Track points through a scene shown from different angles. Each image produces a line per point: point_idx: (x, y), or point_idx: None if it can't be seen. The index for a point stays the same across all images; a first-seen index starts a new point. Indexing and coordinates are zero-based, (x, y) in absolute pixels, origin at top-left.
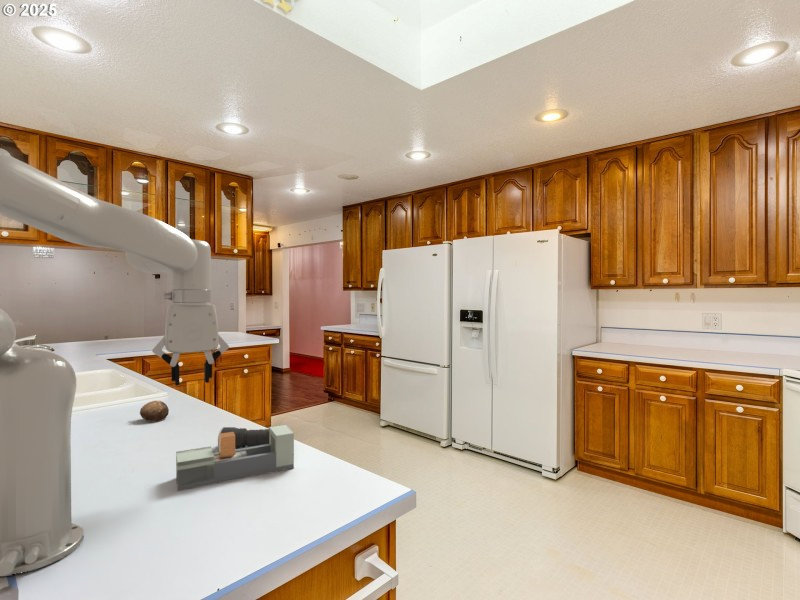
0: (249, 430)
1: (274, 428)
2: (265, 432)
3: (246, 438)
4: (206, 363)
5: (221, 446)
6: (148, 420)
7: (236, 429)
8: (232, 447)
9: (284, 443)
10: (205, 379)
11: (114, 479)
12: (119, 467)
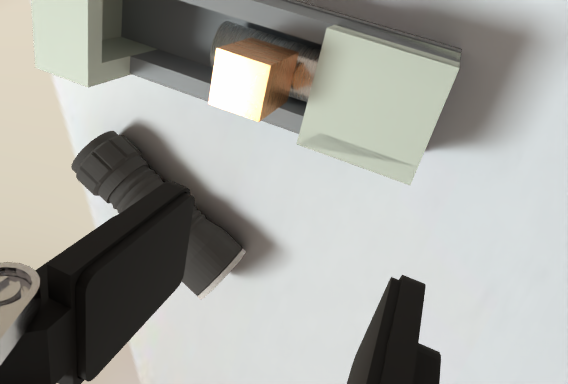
0: None
1: (76, 58)
2: (114, 178)
3: None
4: (63, 311)
5: (281, 58)
6: None
7: None
8: (248, 44)
9: None
10: (181, 205)
11: (555, 280)
12: (502, 346)
